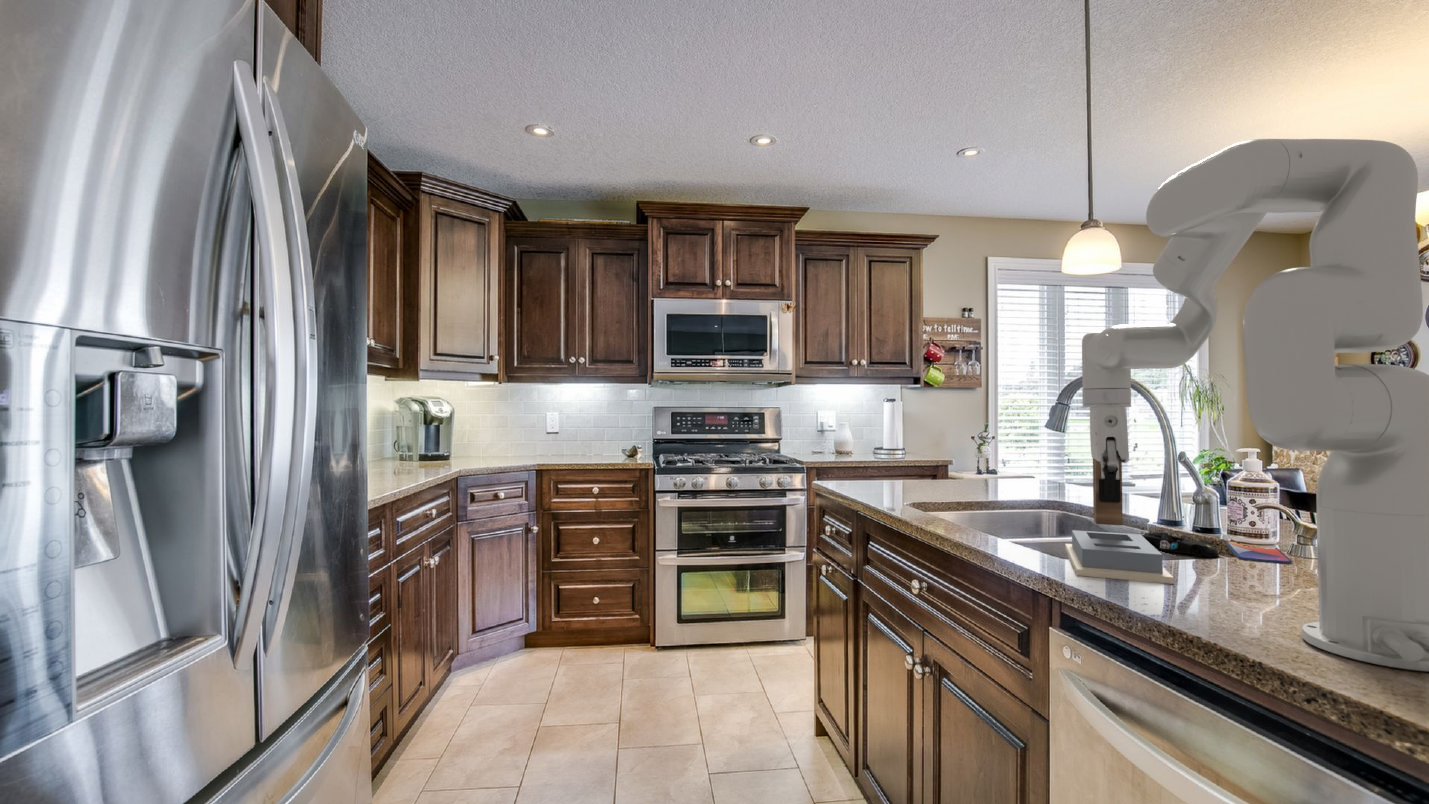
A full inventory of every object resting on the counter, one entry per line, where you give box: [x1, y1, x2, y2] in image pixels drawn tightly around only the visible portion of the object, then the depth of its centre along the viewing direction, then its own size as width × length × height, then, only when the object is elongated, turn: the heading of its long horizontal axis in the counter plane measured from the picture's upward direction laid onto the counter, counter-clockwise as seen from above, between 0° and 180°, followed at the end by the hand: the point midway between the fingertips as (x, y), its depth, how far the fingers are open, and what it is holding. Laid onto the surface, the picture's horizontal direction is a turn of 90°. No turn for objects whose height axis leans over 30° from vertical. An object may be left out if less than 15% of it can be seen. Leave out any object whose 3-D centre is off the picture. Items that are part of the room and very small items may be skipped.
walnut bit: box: [1092, 456, 1124, 526], centre depth 115 cm, size 4×4×12 cm
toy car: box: [1141, 532, 1220, 558], centre depth 120 cm, size 8×12×4 cm
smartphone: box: [1225, 540, 1292, 565], centre depth 118 cm, size 7×15×1 cm, turn 149°
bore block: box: [1064, 529, 1175, 585], centre depth 110 cm, size 22×13×4 cm, turn 155°
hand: (1107, 499), depth 115 cm, fingers closed on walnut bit, 4 cm apart
